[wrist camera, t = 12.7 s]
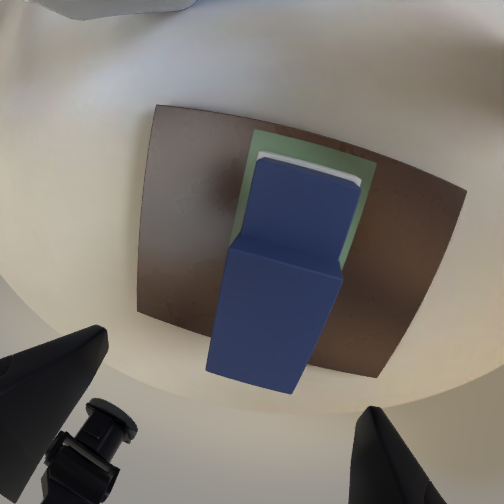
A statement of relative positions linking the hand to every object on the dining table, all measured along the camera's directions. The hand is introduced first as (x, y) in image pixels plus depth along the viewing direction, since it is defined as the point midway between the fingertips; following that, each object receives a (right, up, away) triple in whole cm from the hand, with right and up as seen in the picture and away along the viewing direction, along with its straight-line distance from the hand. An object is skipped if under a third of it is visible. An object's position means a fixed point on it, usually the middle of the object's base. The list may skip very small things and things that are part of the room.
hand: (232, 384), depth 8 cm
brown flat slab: (+3, +4, +9) cm, 10 cm away
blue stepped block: (+2, +4, +8) cm, 9 cm away
